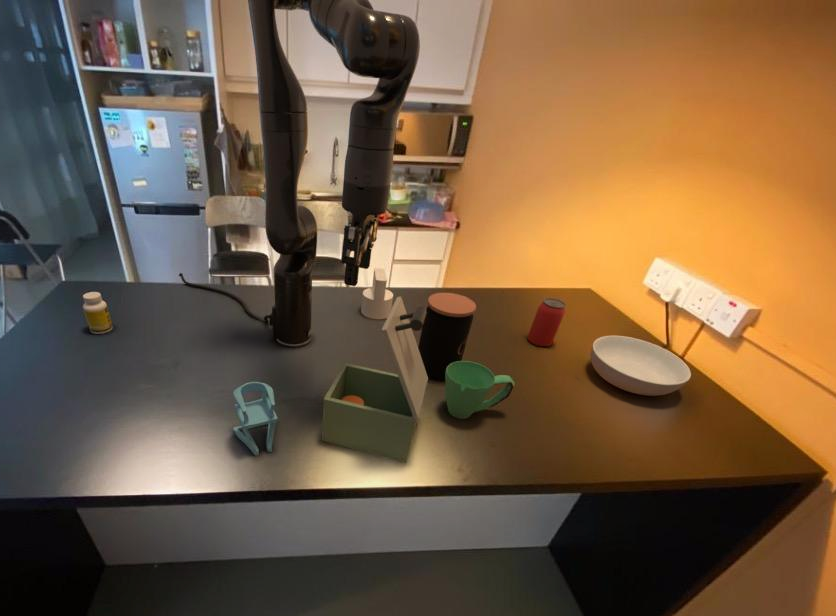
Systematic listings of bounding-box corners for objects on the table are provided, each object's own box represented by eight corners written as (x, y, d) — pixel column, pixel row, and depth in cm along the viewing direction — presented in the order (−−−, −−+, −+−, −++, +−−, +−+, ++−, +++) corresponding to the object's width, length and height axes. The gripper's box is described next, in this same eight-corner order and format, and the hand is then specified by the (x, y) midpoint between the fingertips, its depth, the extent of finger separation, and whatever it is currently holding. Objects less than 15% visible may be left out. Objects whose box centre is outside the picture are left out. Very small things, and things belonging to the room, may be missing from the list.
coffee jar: (458, 384, 100) (478, 316, 90) (413, 377, 102) (427, 309, 91) (457, 360, 109) (475, 295, 98) (415, 354, 110) (428, 289, 99)
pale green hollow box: (321, 440, 83) (323, 399, 77) (340, 402, 93) (343, 362, 87) (406, 462, 79) (415, 421, 73) (416, 420, 89) (425, 380, 83)
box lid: (381, 330, 65) (414, 322, 63) (396, 297, 75) (426, 289, 73) (414, 419, 73) (444, 415, 71) (424, 378, 83) (451, 374, 81)
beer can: (526, 344, 118) (541, 304, 110) (527, 333, 123) (541, 295, 115) (551, 350, 116) (568, 310, 109) (551, 339, 121) (567, 300, 114)
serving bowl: (586, 393, 100) (598, 369, 96) (578, 350, 116) (588, 328, 112) (686, 417, 95) (704, 392, 91) (663, 368, 111) (678, 346, 107)
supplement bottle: (115, 331, 111) (105, 297, 105) (92, 336, 109) (81, 301, 103) (111, 322, 115) (101, 289, 109) (88, 327, 112) (77, 293, 106)
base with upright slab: (391, 320, 125) (397, 281, 118) (361, 318, 125) (365, 279, 117) (389, 306, 132) (394, 269, 125) (360, 304, 132) (364, 267, 125)
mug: (442, 426, 88) (453, 388, 82) (431, 397, 96) (440, 360, 90) (511, 427, 89) (526, 389, 83) (494, 397, 97) (507, 361, 91)
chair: (243, 459, 78) (237, 409, 71) (233, 430, 84) (227, 381, 77) (283, 449, 80) (282, 399, 73) (271, 421, 86) (268, 373, 79)
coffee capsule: (336, 425, 85) (337, 406, 82) (343, 411, 89) (344, 393, 86) (358, 430, 84) (360, 412, 81) (364, 416, 88) (366, 398, 85)
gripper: (356, 168, 73) (348, 259, 83) (330, 183, 62) (324, 286, 72) (399, 174, 72) (385, 266, 82) (380, 191, 61) (367, 295, 71)
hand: (357, 275), depth 77 cm, fingers open, 8 cm apart
